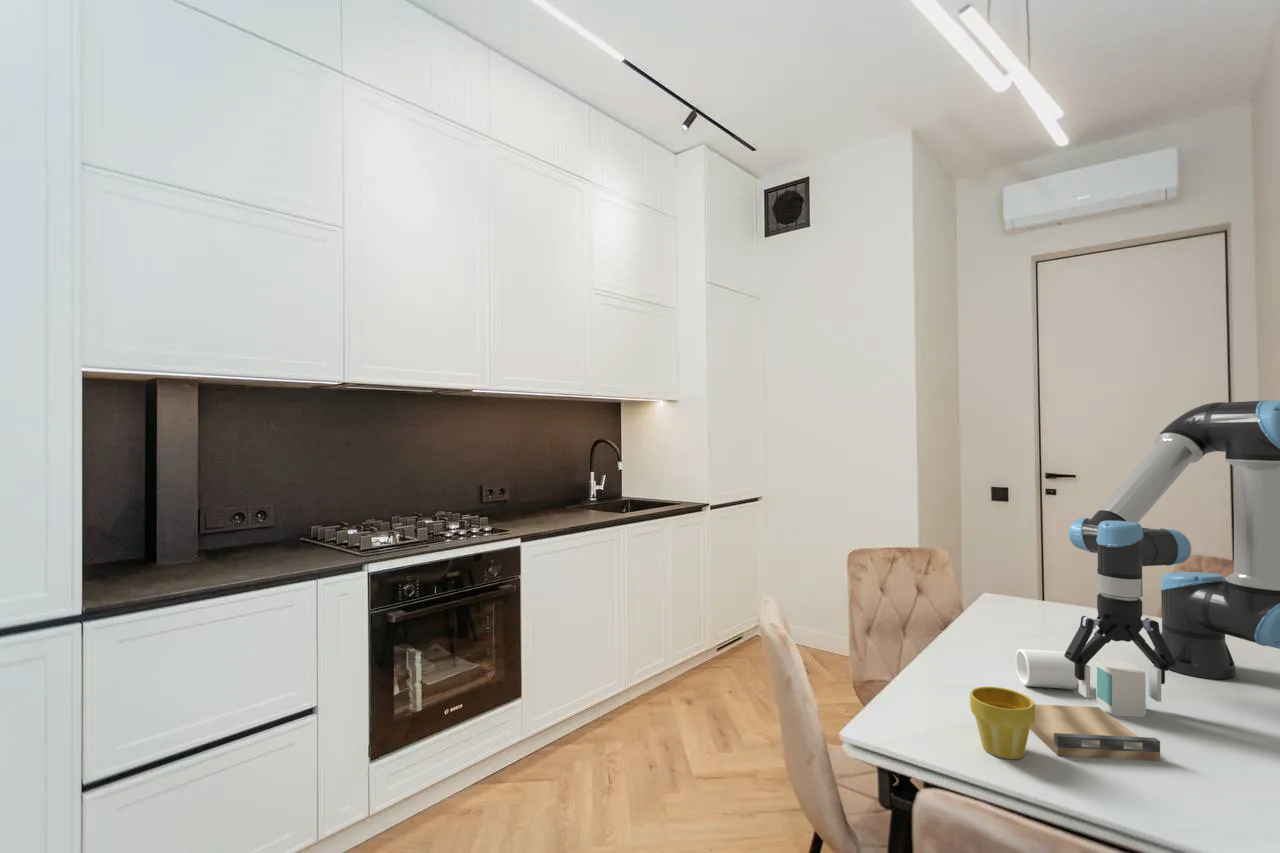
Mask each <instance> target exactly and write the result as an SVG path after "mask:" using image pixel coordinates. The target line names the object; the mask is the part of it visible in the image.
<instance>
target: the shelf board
mask: <svg viewBox="0 0 1280 853" xmlns="http://www.w3.org/2000/svg"><path fill="white" fill-rule="evenodd" d="M1034 705H1035V722H1034V724H1033V725H1031V726H1030V730H1029V731H1031V733H1033V734H1034V735H1035V736H1036V737H1037V738H1039V739H1040V741H1041V742H1043V743H1044V744H1045V745H1046V746H1047V747H1048V748H1049V749H1050V750H1051V751H1052V752H1053V754H1055V755H1056V756H1059V757H1074V758H1075V757H1076V758H1077V757H1078V758H1079V757H1081V758H1095V759H1096V758H1098V759H1118V760H1119V759H1120V760H1132V761H1133V760H1134V761H1135V760H1136V761H1154V762H1155V761H1156V762H1161V740H1159V739H1158V738H1157V737H1143V736H1138V735H1137V734H1135V733H1134V732H1133V731H1131V730H1130V729H1128V727H1126V726H1124V725H1123V724H1122V723H1120V722H1119V721H1118V720H1117V719H1115V718H1114V717H1112V716H1111V715H1110V714H1108V713H1107V712H1105V711H1104V710H1103V709H1102V708H1100V707H1099V706H1080V705H1078V706H1077V705H1056V704H1055V705H1054V704H1035V703H1034Z"/></svg>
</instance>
